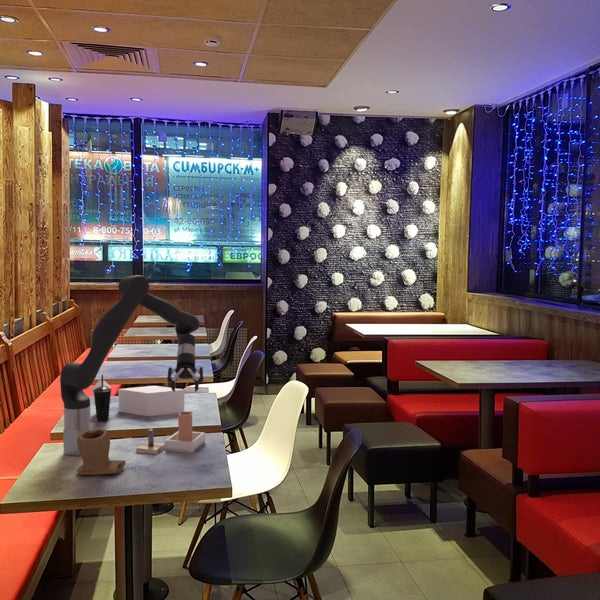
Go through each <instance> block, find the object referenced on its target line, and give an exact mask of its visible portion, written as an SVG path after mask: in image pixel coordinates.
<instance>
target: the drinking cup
mask: <svg viewBox="0 0 600 600" xmlns="http://www.w3.org/2000/svg"><path fill="white" fill-rule="evenodd" d="M100 377H101V378H100V379H101V380H102V387H98V388H96V389H94V390H93V392H94V396H93V399H94V398H95V403H94V406H95V413H96V414H95V416H96V422H98V423H105V422H108V421H109V418H110V409H111V408H110V406H111V396H112V395H111V394H112V387H111V388H108V387H103V380H104V375H103V374H101V376H100ZM93 392H92V393H93Z"/></svg>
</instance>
